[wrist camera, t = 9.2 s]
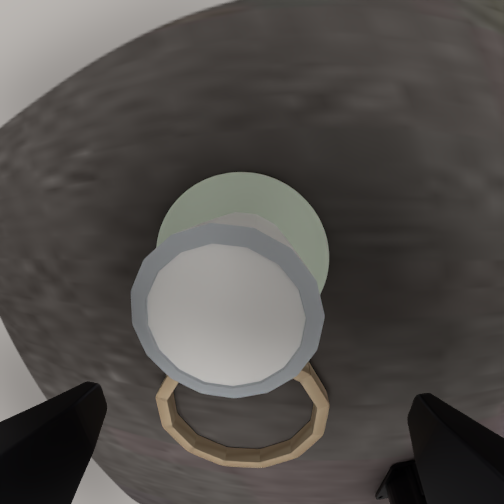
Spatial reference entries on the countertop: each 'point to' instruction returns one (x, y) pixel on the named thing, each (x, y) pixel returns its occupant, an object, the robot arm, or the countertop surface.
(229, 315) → the shot glass
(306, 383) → the collar
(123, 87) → the countertop surface
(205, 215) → the pale green round disc
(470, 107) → the countertop surface
